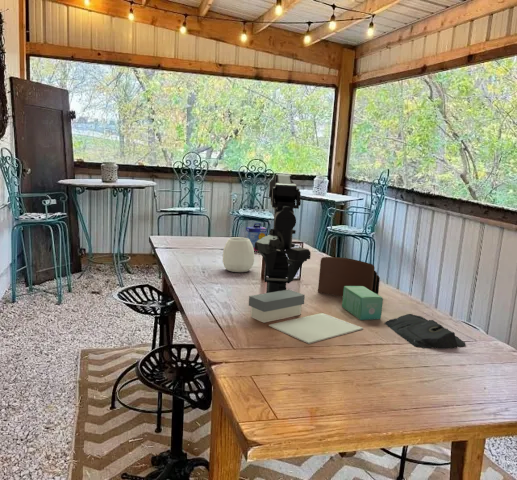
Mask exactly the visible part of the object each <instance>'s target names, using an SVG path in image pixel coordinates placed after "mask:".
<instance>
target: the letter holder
mask: <svg viewBox="0 0 517 480" xmlns="http://www.w3.org/2000/svg"><path fill="white" fill-rule="evenodd" d="M380 281H381V280H380V276H379V275H378V272H377V270H375V266H374V264H372V263H369V262H367V261H366V262H365V261H363V260H358V259H353V258H348V257H341V256H340V257H337V256H335V257H333V256H323V257H321V259H320V265H319V275H318V288H317V293H318V294H319V293H320V294H324V295H325V294H326V295H329V296H335V297H340V298H343V291H344V286H364V287H366V288H367V289H369V290H371V291H372V292H374V293H376V294H377V295H379V289H380Z"/></svg>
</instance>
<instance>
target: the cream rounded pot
mask: <svg viewBox="0 0 517 480" xmlns="http://www.w3.org/2000/svg"><path fill="white" fill-rule="evenodd" d="M222 263H223V266H224V268H225V269H226V270H227V271H229V272H233V273H246V272H249V271H250V270H251V269H252V268H253V266H254V264H255V252H254V248H253V245H252V243H251V241H250V239H247V238H246V237H242V236H241V237H240V236H239V237H237V236H235V237H233V236H232V237H230V238H228V239H227V241H226V242H225V244H224V247H223V251H222Z"/></svg>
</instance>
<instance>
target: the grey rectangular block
mask: <svg viewBox="0 0 517 480" xmlns="http://www.w3.org/2000/svg"><path fill="white" fill-rule="evenodd" d="M304 304H305V294H303V293H300V292H298V291H294V290H291V289H286V290H282V291H276V292H270V293H266V292H265V293H260V294H253V295H249V296H248V306H249V307H254V308H256V309H258V310H261V311H263V312H267V311H272V310H277V309H282V308H287V307H292V306H297V305H301V306H302V305H304Z"/></svg>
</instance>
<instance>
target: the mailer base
mask: <svg viewBox="0 0 517 480" xmlns="http://www.w3.org/2000/svg"><path fill="white" fill-rule="evenodd" d="M250 307H251V306H250ZM301 311H302V305H297V306H292V307H287V308H282V309H277V310H272V311H267V312H263V311H261V310H258V309H256V308H254V307H251V311H250V317H251V319H255V320H257V321H259V322H262V323H263V324H264V323H268V322H273V321H278V320H279V321H280V320H282V319H287V318H293V317H296V316H300V315H301V313H302V312H301Z"/></svg>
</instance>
